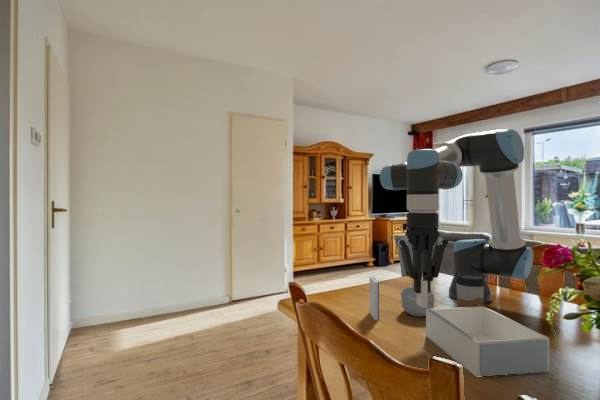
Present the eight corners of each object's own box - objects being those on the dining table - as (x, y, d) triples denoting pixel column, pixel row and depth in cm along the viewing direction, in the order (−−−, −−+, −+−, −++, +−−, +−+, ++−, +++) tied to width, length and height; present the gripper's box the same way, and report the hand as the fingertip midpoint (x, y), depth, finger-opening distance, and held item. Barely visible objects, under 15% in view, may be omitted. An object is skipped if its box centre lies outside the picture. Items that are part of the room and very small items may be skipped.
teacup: (436, 320, 108) (436, 296, 108) (402, 318, 110) (402, 294, 110) (428, 306, 121) (429, 284, 121) (398, 304, 124) (398, 283, 124)
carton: (484, 332, 98) (484, 305, 98) (554, 374, 75) (554, 339, 75) (424, 335, 96) (425, 308, 96) (478, 380, 72) (478, 343, 72)
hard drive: (373, 311, 116) (373, 276, 116) (379, 320, 108) (379, 282, 108) (369, 311, 116) (369, 276, 116) (374, 320, 108) (374, 282, 107)
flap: (408, 294, 93) (407, 295, 93) (448, 321, 73) (447, 322, 73) (427, 308, 94) (427, 309, 94) (473, 338, 74) (472, 339, 74)
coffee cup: (469, 329, 100) (469, 280, 100) (449, 320, 108) (449, 274, 108) (491, 326, 102) (491, 278, 102) (470, 317, 110) (470, 272, 110)
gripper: (438, 211, 87) (438, 299, 88) (391, 211, 86) (391, 301, 86) (455, 212, 80) (455, 309, 80) (404, 212, 78) (403, 311, 79)
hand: (422, 305), depth 83 cm, fingers closed
